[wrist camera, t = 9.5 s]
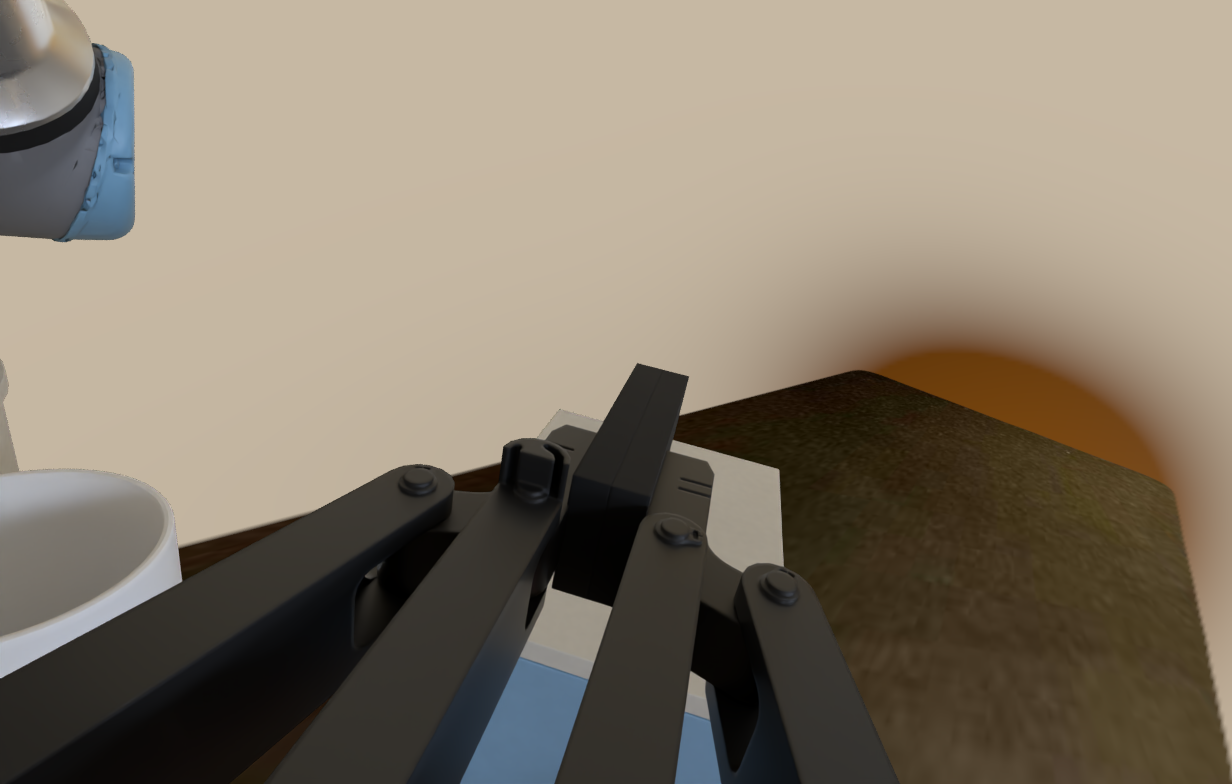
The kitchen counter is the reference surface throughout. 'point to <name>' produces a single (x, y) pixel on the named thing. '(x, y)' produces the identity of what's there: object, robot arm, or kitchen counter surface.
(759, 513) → the case lid
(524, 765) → the case
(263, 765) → the kitchen counter surface
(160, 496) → the cup
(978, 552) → the kitchen counter surface
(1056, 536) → the kitchen counter surface
